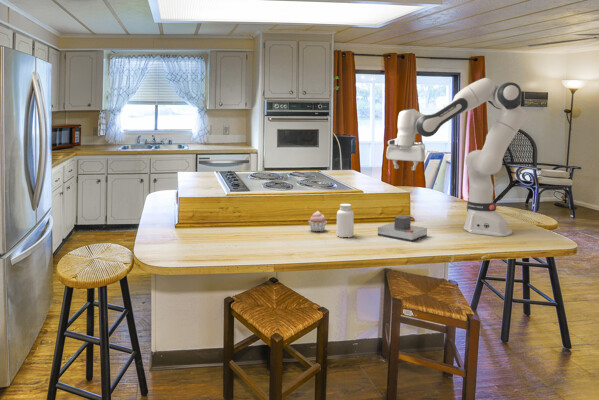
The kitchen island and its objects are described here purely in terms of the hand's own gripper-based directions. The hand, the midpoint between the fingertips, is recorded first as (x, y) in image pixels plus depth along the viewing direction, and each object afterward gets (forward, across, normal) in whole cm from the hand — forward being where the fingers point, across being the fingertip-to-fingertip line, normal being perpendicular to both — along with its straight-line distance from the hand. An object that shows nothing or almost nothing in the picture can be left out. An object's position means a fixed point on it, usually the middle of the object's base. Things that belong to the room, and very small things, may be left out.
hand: (404, 169), depth 243 cm
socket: (+29, -10, +18) cm, 36 cm away
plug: (+28, -10, +18) cm, 34 cm away
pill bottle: (+29, +10, +36) cm, 47 cm away
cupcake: (+29, +26, +37) cm, 54 cm away
